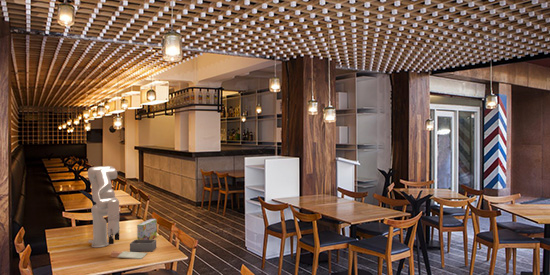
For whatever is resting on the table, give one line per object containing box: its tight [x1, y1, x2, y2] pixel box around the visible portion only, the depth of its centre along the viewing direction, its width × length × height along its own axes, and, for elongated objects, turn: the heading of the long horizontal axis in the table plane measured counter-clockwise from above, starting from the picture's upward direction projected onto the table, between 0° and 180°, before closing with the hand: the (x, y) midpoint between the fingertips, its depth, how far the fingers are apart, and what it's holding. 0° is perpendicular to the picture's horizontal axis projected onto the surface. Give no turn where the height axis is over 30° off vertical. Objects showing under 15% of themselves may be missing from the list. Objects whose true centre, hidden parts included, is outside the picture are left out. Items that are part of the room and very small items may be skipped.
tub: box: [129, 239, 157, 253], centre depth 290 cm, size 16×10×6 cm, turn 90°
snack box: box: [136, 218, 158, 240], centre depth 315 cm, size 21×6×15 cm, turn 168°
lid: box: [110, 250, 148, 260], centre depth 275 cm, size 23×11×3 cm, turn 89°
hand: (114, 242), depth 275 cm, fingers open, 9 cm apart
